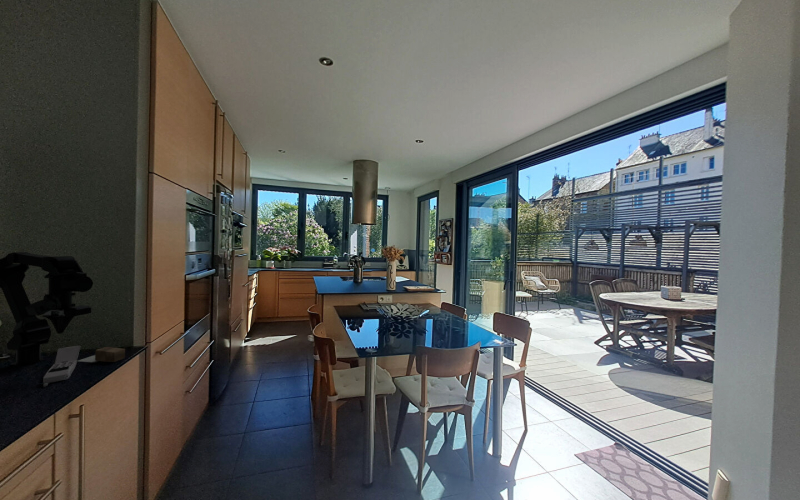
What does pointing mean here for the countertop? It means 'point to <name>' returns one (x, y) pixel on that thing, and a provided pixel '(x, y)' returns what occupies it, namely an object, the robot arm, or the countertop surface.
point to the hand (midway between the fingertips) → (60, 333)
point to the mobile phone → (62, 365)
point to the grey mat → (88, 359)
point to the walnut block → (109, 354)
